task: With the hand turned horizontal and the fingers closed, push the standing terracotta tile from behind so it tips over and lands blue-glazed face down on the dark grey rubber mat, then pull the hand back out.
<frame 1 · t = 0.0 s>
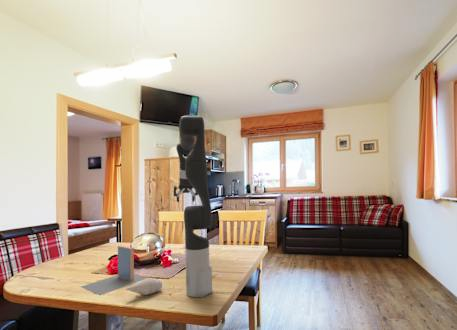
hand: (185, 201, 160), 31 cm above the table, fingers open, 8 cm apart
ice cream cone: (144, 296, 102), on the table
mat: (115, 283, 116), on the table
tile: (125, 278, 120), resting on mat
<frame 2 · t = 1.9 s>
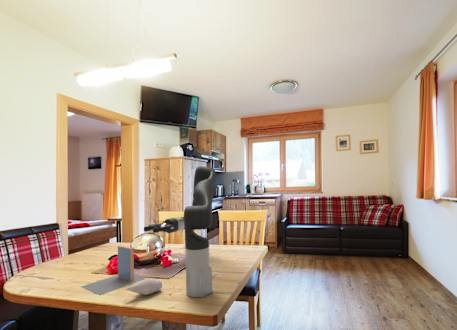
hand: (148, 229, 131), 20 cm above the table, fingers open, 6 cm apart
nothing on the table moved.
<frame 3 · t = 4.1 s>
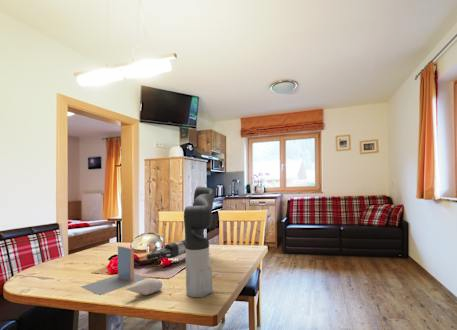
hand: (147, 257, 130), 7 cm above the table, fingers closed
nothing on the table moved.
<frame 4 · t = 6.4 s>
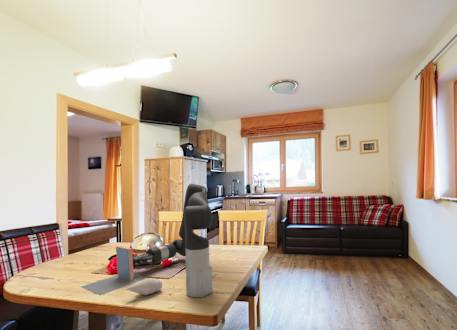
hand: (126, 263, 121), 7 cm above the table, fingers closed
tile: (125, 278, 120), point 1 cm above the table, touching gripper, mat
everything else where it was.
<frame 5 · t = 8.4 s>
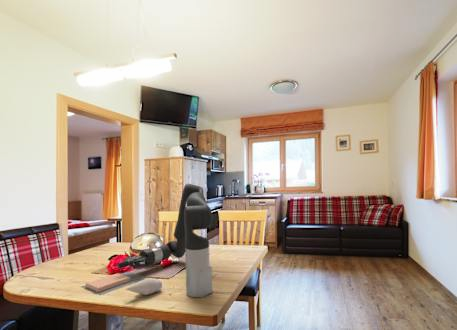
hand: (118, 265, 117), 7 cm above the table, fingers closed
tile: (123, 277, 119), point 1 cm above the table, tilted 90°, touching mat
everything else where it was.
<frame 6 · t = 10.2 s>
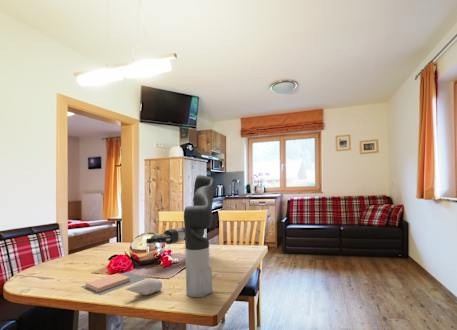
hand: (147, 241, 130), 15 cm above the table, fingers closed
nothing on the table moved.
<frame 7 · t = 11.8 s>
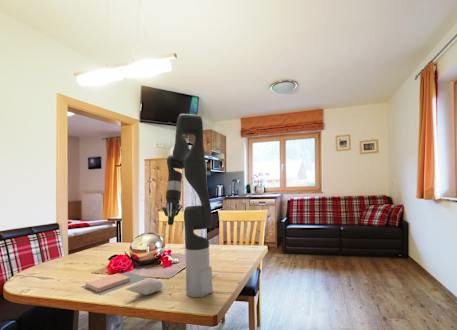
hand: (170, 224, 132), 22 cm above the table, fingers closed
nothing on the table moved.
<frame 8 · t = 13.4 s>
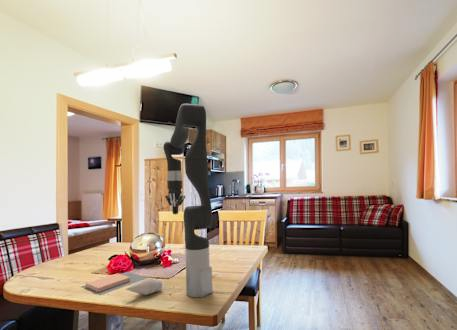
hand: (175, 214, 135), 27 cm above the table, fingers closed
nothing on the table moved.
at the end: tile tilted 90°; tile inside the target area (4.9 cm from its centre), point 1.5 cm above the table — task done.
